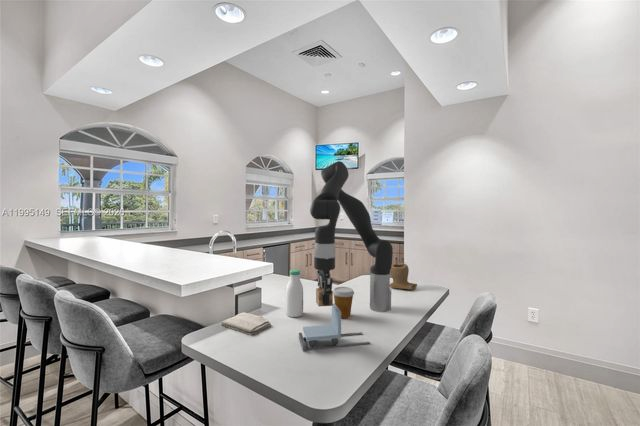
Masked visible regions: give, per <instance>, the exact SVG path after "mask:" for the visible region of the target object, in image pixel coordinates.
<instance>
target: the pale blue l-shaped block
mask: <svg viewBox="0 0 640 426" xmlns="http://www.w3.org/2000/svg"><path fill="white" fill-rule="evenodd" d="M302 331H303V333H304V337H306V339H305V340H306V342H308V345H309V347H317V346H316V345H317V341H322V340H324V341H325V340H331V341H330V342H331V345H339V339H342V336H341V334H342V319H341V311H340V310H339V309H338V307H337V306H336V305H335V302H334V303H333V306H331V324H321V325H309V326H303V327H302Z"/></svg>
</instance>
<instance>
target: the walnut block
mask: <svg viewBox="0 0 640 426" xmlns="http://www.w3.org/2000/svg"><path fill="white" fill-rule="evenodd" d="M326 291H328V289H326ZM333 291H334V290H332V293H331V294H330V295H329V305H323V290H322V288H319V287H317V288H315V302H316V305H317V306H318V307H330V306H331V307H332V306H333V304H334V303H333V301H334V295H333Z"/></svg>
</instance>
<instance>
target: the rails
mask: <svg viewBox="0 0 640 426" xmlns="http://www.w3.org/2000/svg"><path fill="white" fill-rule="evenodd" d="M358 335H359V336H360V335H363V332H362V331H361V332H350V333H341V337H348V336H358ZM298 340H299V343H300V347H301V349H302V352H306V351H311V350H321V349H333V348H341V347H352V346H363V345H371V341H362V342H361V341H360V342H352V343H340V344H339V343H338V344H337V345H333V344H331V345H330V344H327V345H321V346H315V347H310V346H309V347H307V345H306V342H305V340H307V339H306V337H305V336H303V333H302V332H298Z"/></svg>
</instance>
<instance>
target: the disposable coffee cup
mask: <svg viewBox="0 0 640 426" xmlns="http://www.w3.org/2000/svg"><path fill="white" fill-rule="evenodd" d="M332 291H333V301H334V303H335V305H336V306H337V307H338V309H339V310H340V311H341V320H342V319H344V320H346V319H349V318H351V314H352V306H353V299H354V294H355V292H354V289H353V288H352V287H349V286H347V287H346V286H338V287H337V286H336V287H334V288H333V290H332Z"/></svg>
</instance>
